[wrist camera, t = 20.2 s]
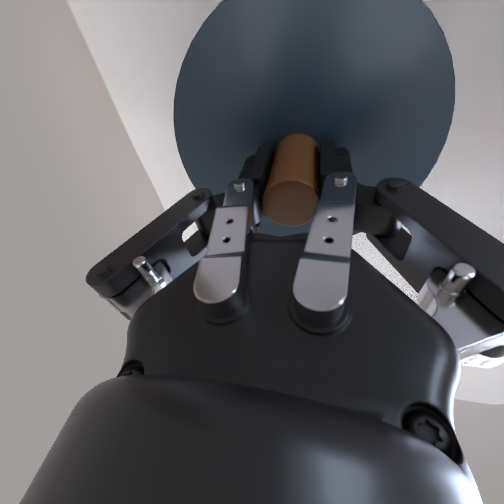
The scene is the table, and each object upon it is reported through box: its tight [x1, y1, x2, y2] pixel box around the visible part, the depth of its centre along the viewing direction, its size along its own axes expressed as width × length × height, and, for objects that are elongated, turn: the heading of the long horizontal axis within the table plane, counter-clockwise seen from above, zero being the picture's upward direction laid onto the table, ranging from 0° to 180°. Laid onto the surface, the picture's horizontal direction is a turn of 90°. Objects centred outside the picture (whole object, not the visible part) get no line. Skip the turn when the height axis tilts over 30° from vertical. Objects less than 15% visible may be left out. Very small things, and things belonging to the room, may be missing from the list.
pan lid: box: [174, 0, 455, 237], centre depth 13 cm, size 15×15×6 cm
